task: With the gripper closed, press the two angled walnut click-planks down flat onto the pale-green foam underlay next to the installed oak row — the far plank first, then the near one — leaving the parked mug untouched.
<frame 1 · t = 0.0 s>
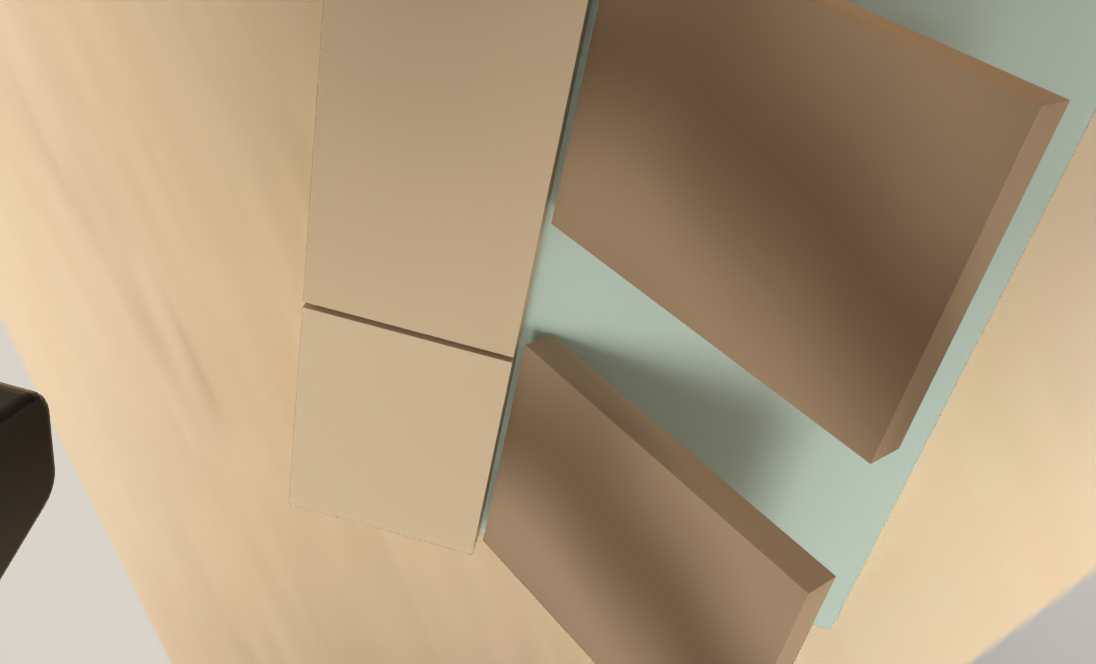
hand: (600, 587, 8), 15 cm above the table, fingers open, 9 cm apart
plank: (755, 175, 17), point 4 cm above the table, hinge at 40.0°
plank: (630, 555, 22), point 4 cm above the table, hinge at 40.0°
underlay base: (640, 271, 23), on the table
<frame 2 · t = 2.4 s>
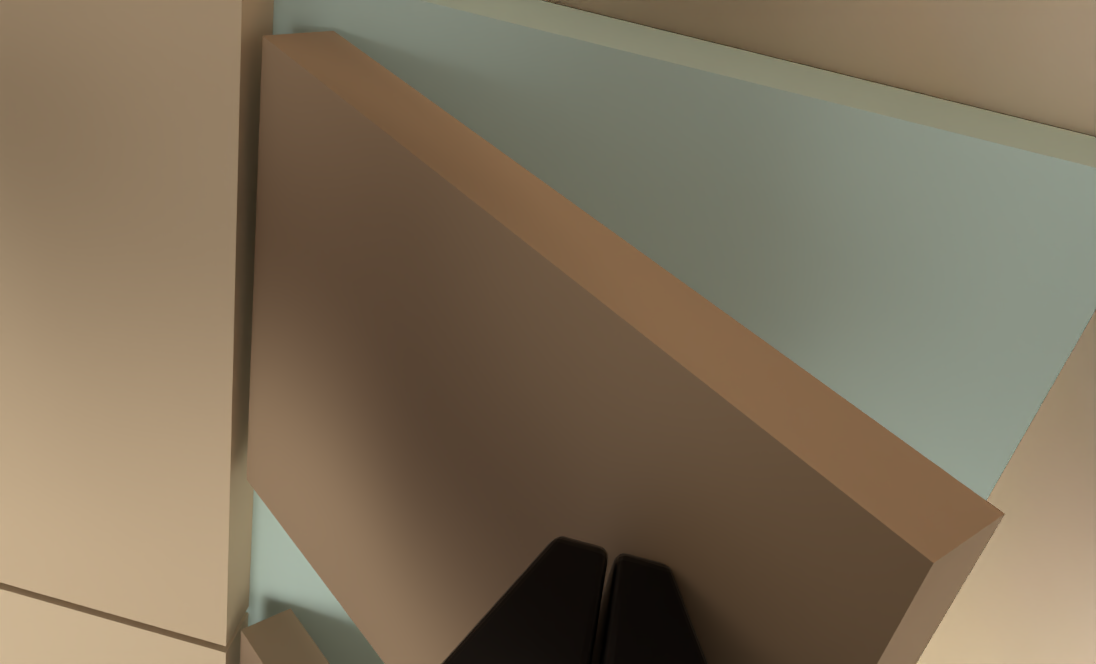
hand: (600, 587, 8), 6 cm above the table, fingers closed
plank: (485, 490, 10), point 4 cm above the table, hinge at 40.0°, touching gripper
underlay base: (417, 514, 16), on the table
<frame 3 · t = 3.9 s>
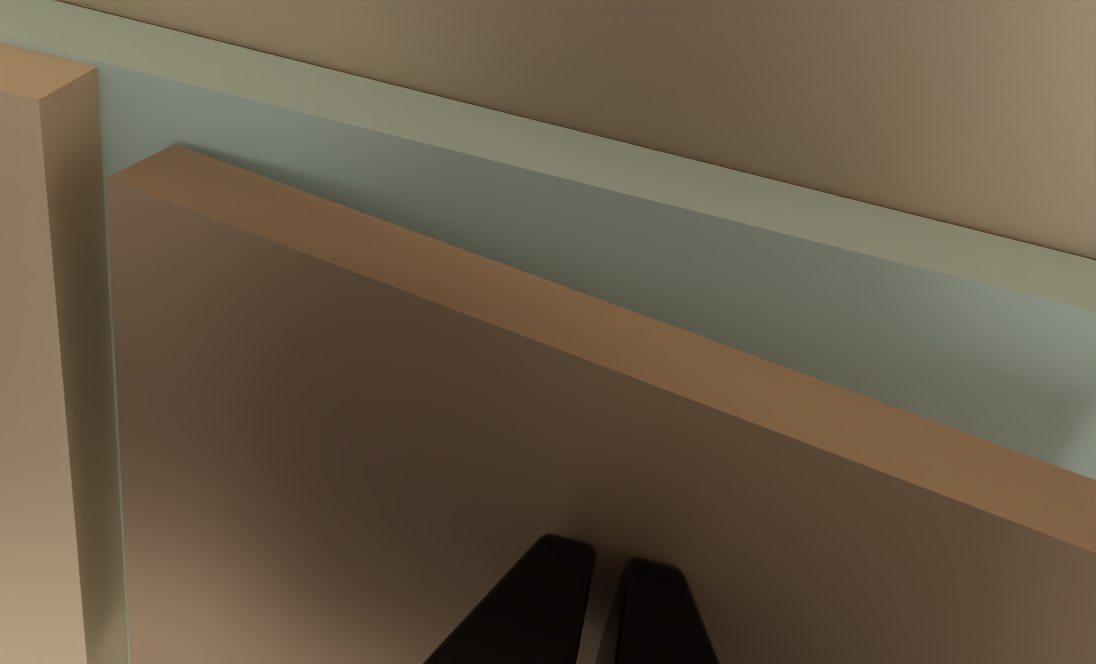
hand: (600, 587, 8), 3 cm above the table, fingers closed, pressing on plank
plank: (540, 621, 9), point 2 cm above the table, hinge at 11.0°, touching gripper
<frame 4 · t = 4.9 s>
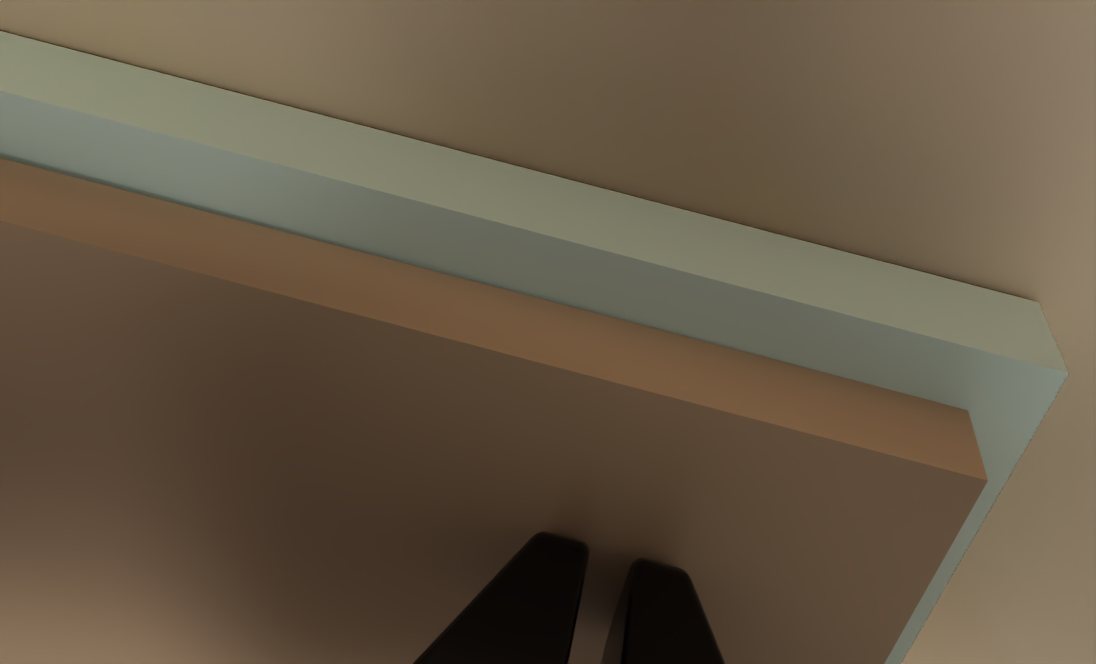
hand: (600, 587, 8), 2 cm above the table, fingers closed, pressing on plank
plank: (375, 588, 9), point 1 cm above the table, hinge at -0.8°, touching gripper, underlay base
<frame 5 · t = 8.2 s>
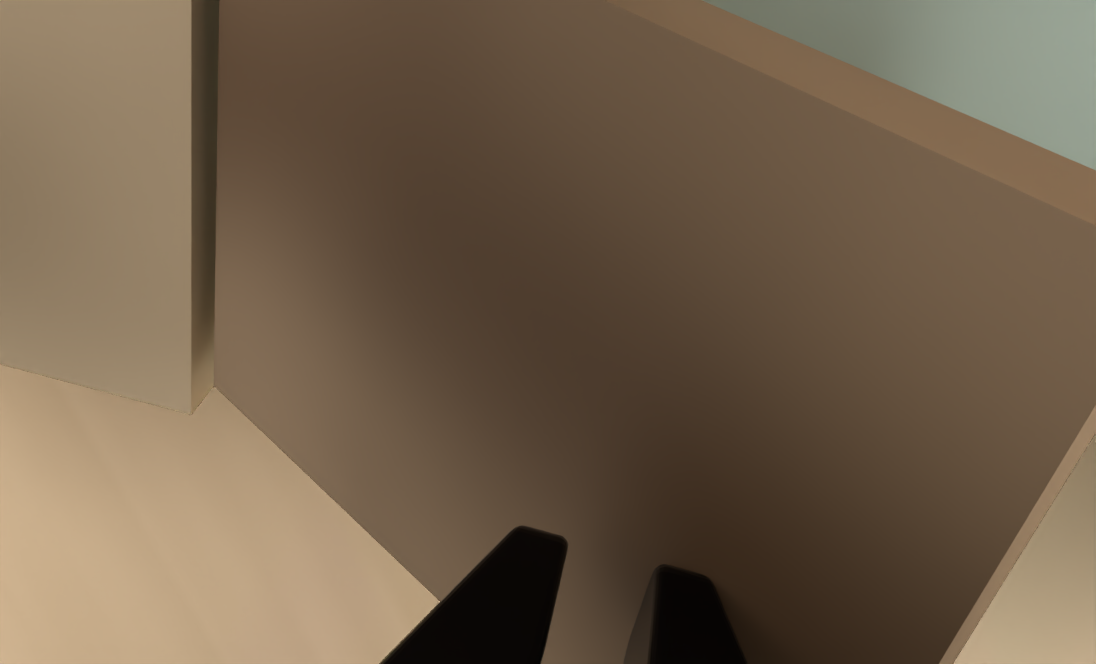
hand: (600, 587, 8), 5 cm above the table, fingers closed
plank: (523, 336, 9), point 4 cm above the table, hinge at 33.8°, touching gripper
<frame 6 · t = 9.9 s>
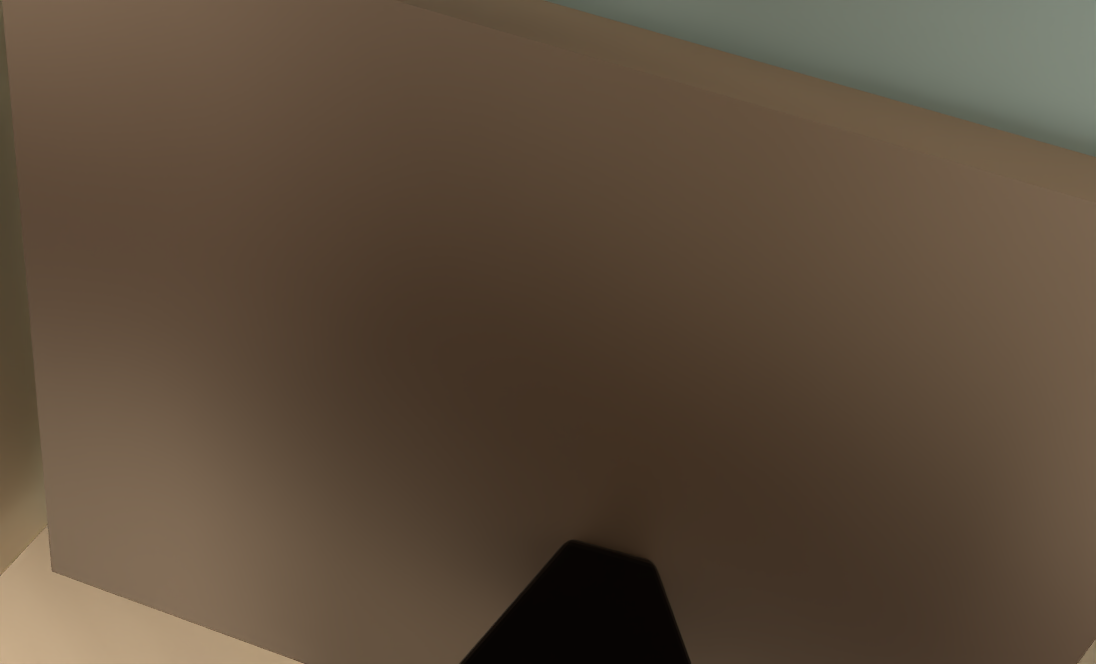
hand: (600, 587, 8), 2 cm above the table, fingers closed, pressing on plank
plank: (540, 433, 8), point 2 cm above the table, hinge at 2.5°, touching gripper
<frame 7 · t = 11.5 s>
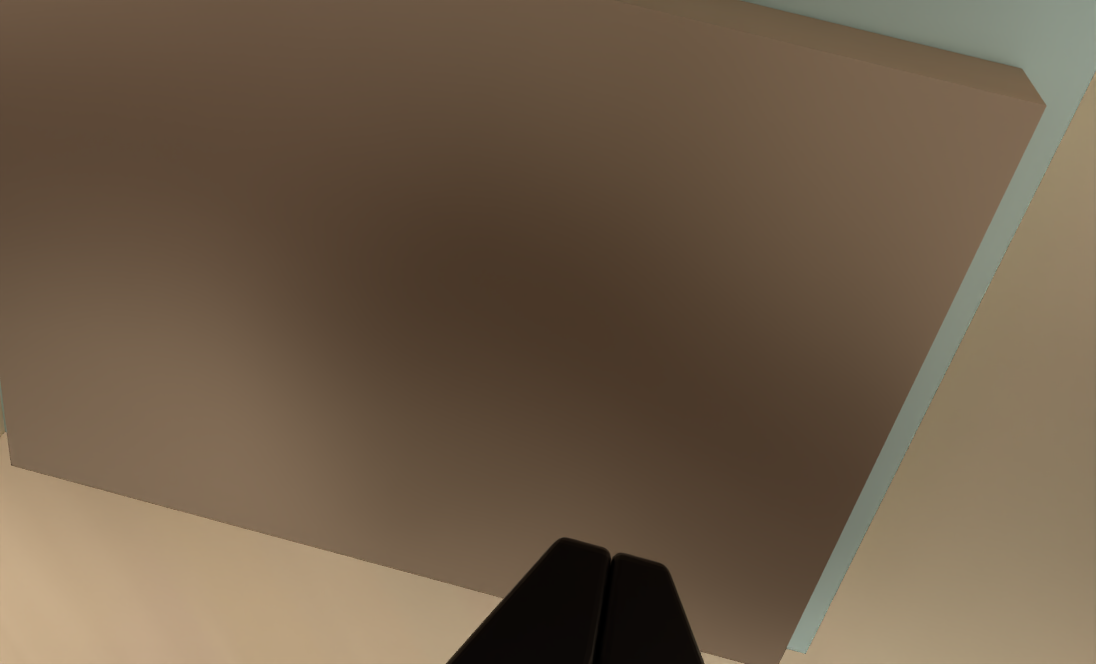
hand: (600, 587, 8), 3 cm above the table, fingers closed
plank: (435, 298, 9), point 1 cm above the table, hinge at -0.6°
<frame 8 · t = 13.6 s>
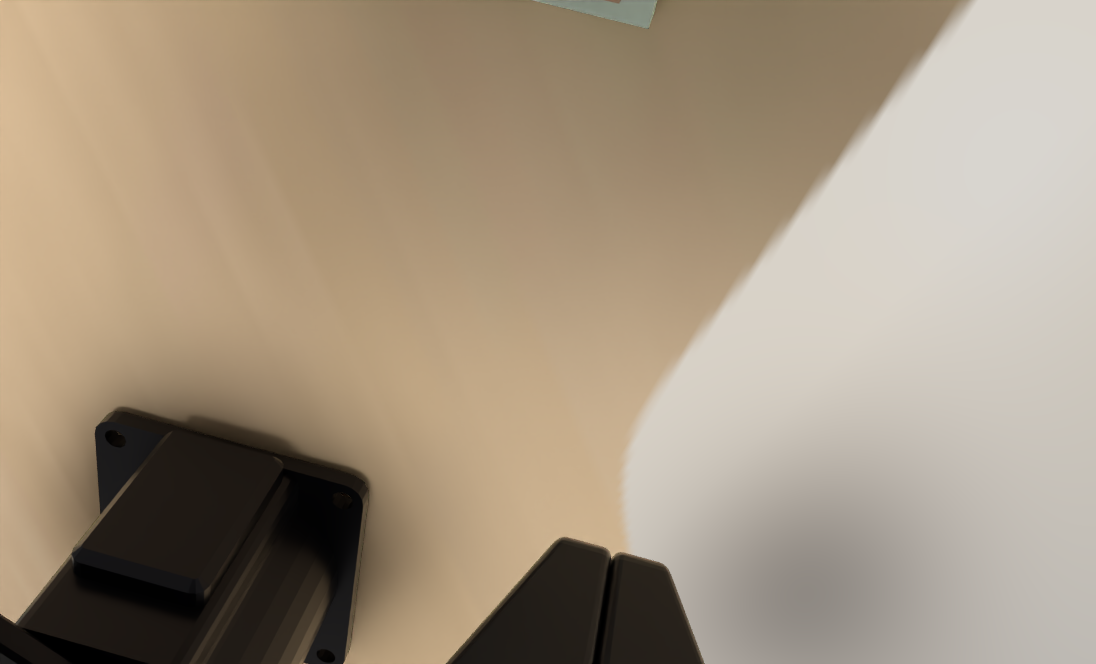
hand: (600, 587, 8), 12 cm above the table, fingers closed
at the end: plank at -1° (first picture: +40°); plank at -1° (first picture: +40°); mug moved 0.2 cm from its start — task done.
